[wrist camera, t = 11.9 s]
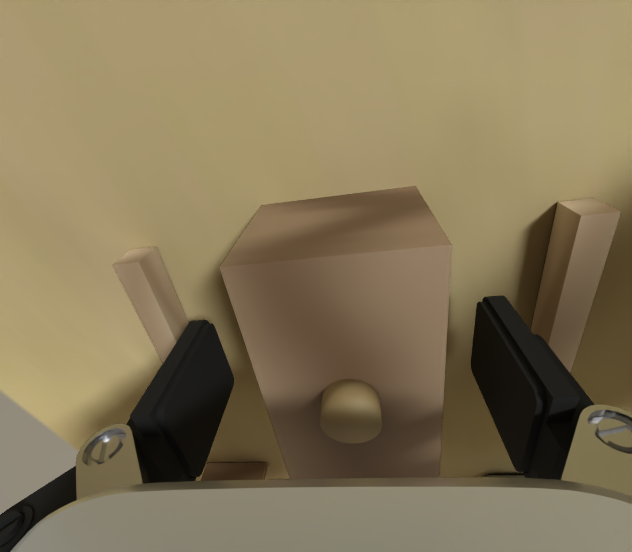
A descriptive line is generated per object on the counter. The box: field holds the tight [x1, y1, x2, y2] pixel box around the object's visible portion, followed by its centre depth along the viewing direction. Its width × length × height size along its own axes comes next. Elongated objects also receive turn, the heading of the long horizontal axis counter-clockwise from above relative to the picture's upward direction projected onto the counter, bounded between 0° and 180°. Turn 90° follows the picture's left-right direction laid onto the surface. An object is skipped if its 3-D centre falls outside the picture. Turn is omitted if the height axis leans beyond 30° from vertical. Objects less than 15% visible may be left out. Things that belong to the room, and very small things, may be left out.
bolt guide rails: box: [112, 198, 621, 373], centre depth 13 cm, size 16×7×1 cm, turn 99°
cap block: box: [219, 186, 452, 479], centre depth 11 cm, size 5×9×5 cm, turn 9°
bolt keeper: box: [201, 462, 267, 481], centre depth 20 cm, size 4×4×1 cm
